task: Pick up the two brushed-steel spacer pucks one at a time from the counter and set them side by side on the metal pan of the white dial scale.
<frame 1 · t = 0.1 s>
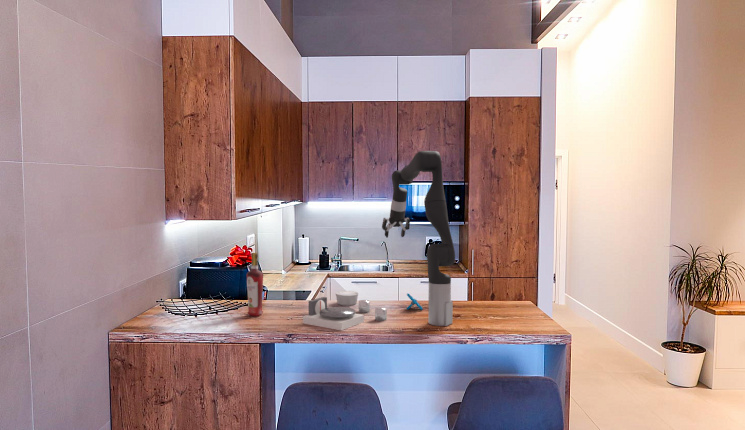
hand: (394, 236, 270), 31 cm above the table, tool tilted 20°, fingers open, 8 cm apart
scale: (333, 322, 219), on the table
pan: (337, 312, 217), point 5 cm above the table, slide at -0.8 cm
spacer b: (364, 311, 238), on the table
liquor: (255, 315, 231), on the table
spacer a: (380, 319, 224), on the table
ramekin: (347, 304, 256), on the table
blue plastic branched piece: (414, 309, 243), on the table
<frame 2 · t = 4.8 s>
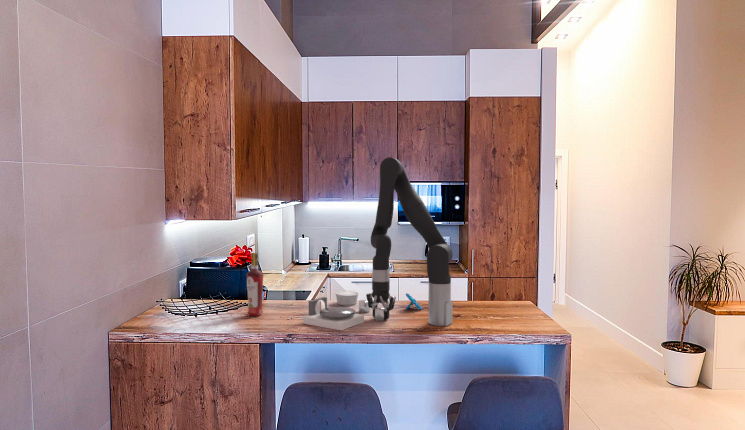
hand: (380, 318, 224), 0 cm above the table, tool pointing down, fingers closed on spacer a, 5 cm apart
spacer a: (380, 319, 224), on the table, touching gripper
when the fingers open (8 cm above the table, at t = 10.2 s): spacer a drops 2 cm, resting on pan.
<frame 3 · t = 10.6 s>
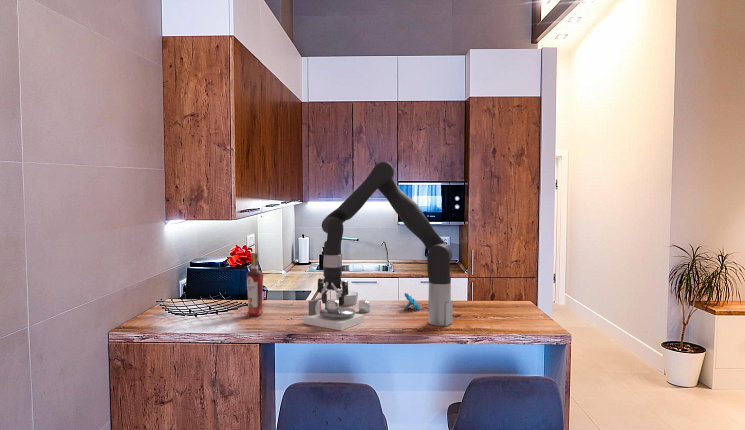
hand: (332, 304, 215), 9 cm above the table, tool pointing down, fingers open, 8 cm apart
pan: (337, 312, 217), point 5 cm above the table, slide at -0.8 cm, touching spacer a
spacer a: (333, 312, 215), point 5 cm above the table, touching pan
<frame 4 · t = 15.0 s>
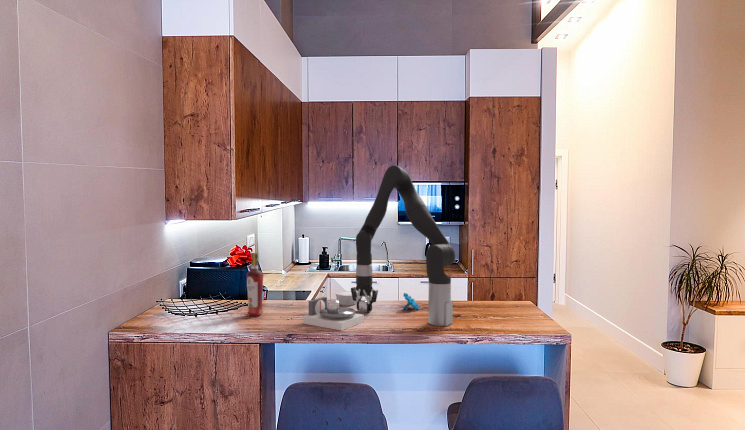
hand: (364, 310, 238), 0 cm above the table, tool pointing down, fingers closed on spacer b, 5 cm apart
spacer b: (364, 311, 238), on the table, touching gripper
when the fingers open (8 cm above the table, at t = 20.5 s): spacer b drops 2 cm, resting on pan.
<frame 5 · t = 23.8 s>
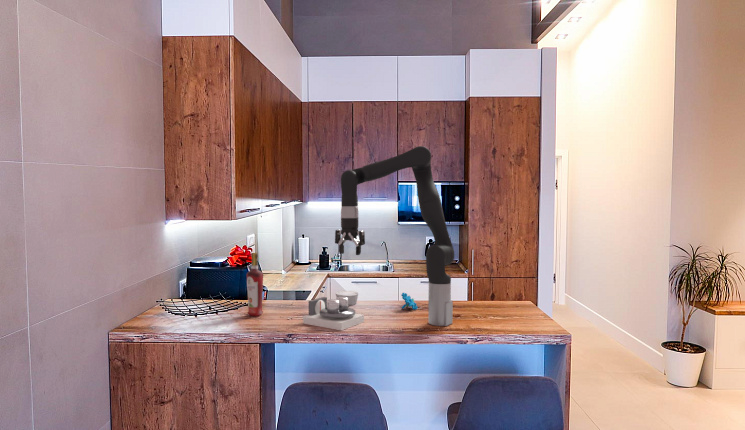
hand: (349, 254, 224), 28 cm above the table, tool pointing down, fingers open, 8 cm apart
pan: (337, 312, 217), point 5 cm above the table, slide at -0.9 cm, touching spacer a, spacer b
spacer b: (342, 309, 220), point 5 cm above the table, touching pan
at the end: spacer a inside the target area on the scale (3.1 cm from its centre), point 5.2 cm above the scale's base; spacer b inside the target area on the scale (3.3 cm from its centre), point 5.1 cm above the scale's base; spacer b tilted 0° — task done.
